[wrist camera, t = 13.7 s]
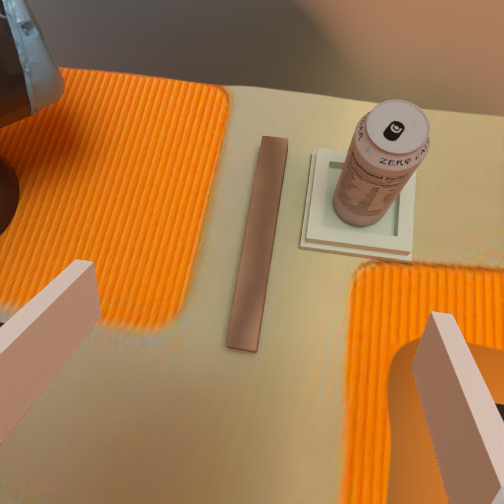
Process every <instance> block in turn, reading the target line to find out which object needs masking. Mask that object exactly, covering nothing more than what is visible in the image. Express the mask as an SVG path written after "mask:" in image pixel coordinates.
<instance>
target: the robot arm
mask: <svg viewBox="0 0 504 504" xmlns="http://www.w3.org/2000/svg"><path fill="white" fill-rule="evenodd" d="M64 88H65V85H64V80H63V77H62V74H61V72H60V70H59V67H58V65H57V63H56V60H55V58H54V56H53V54H52V51H51V49H50V47H49V45H48V43H47V41H46V38H45V36H44V35H43V32H42V30H41V28H40V26H39V24H38V22H37V19H36V17H35V15H34V13H33V11H32V9H31V7H30V5H29V3H28V1H27V0H0V128H2V127H5V126H7V125H10V124H12V123H14V122H17V121H19V120H22V119H24V118H26V117H29V116H33V115H35V114H36V112H37V111H39V110H41V109H43V108H45V107H47V106H49V105H51V104H52V103H54V102H56V101H58V100H59V99H60V98H61V97H62V95H63V93H64ZM18 195H19V187H18V180H17V177H16V174H15V172H14V170H13V168H12V166H11V165H10V164H9V162H8V161H7V160H6V159H5V158H3V157H2V156H1V155H0V234H1V233H2V232H3V231H4V230H5V228H6V227H7V225H8V224H9V222H10V220H11V219H12V217H13V214H14V212H15V209H16V206H17V202H18ZM100 318H101V311H100V304H99V296H98V289H97V281H96V274H95V266H94V262H91V261H84V260H77V259H76V260H75V261H73V262H72V263H71V264H70V265H69V266H68V267H67V268H66V269H65V270H64V271H62V272H61V273H60V274H59V275H58V276H57V277H56V278H55V279H54V280H52V281H51V282H50V283H49V284H48V285H47V286H46V287H45V288H44V289H42V290H41V291H40V292H39V293H38V294H37V295H36V296H35V297H34V298H32V299H31V300H30V301H29V302H28V303H27V304H26V305H25V306H24V307H23V308H21V309H20V310H19V311H18V312H17V313H16V314H15V315H14V316H13V317H11V318H10V319H9V320H8V321H7V322H6V323H1V322H0V445H1V443H2V442H3V441H4V439H5V438H6V437H7V436H8V434H9V433H10V432H11V431H12V429H13V428H14V427H15V426H16V424H17V423H18V422H19V420H20V419H21V418H22V417H23V415H24V414H25V413H26V412H27V410H28V409H29V408H30V407H31V405H32V404H33V403H34V401H35V400H36V399H37V398H38V396H39V395H40V394H41V393H42V391H43V390H44V389H45V387H46V386H47V385H48V384H49V382H50V381H51V380H52V379H53V377H54V376H55V375H56V374H57V372H58V371H59V370H60V368H61V367H62V366H63V365H64V363H65V362H66V361H67V360H68V358H69V357H70V356H71V355H72V353H73V352H74V351H75V349H76V348H77V347H78V346H79V344H80V343H81V342H82V341H83V339H84V338H85V337H86V336H87V334H88V333H89V332H90V330H91V329H92V328H93V327H94V325H95V324H96V323H97V322H98V320H99V319H100ZM411 367H412V371H413V374H414V378H415V382H416V385H417V389H418V393H419V396H420V400H421V403H422V407H423V411H424V414H425V418H426V422H427V425H428V429H429V433H430V436H431V440H432V444H433V447H434V451H435V455H436V458H437V462H438V466H439V469H440V473H441V476H442V480H443V484H444V488H445V491H446V495H447V498H448V502H449V504H504V405H501V404H495V403H494V401H493V399H492V397H491V395H490V392H489V390H488V388H487V386H486V384H485V382H484V380H483V378H482V375H481V373H480V371H479V369H478V367H477V365H476V363H475V361H474V359H473V357H472V355H471V352H470V350H469V348H468V346H467V344H466V342H465V340H464V337H463V335H462V333H461V331H460V329H459V327H458V325H457V323H456V321H455V318H454V316H453V314H446V313H440V312H433V311H431V313H430V316H429V318H428V321H427V324H426V327H425V330H424V332H423V335H422V338H421V341H420V344H419V346H418V349H417V352H416V355H415V358H414V360H413V364H412V366H411Z"/></svg>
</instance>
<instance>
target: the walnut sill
mask: <svg viewBox="0 0 504 504" xmlns="http://www.w3.org/2000/svg"><path fill="white" fill-rule="evenodd" d="M287 152H288V138H279V137H270V136H262V141H261V147H260V152H259V158H258V164H257V170H256V175H255V181H254V187H253V193H252V198H251V204H250V210H249V216H248V221H247V227H246V233H245V239H244V244H243V250H242V256H241V262H240V267H239V273H238V279H237V285H236V290H235V296H234V302H233V307H232V313H231V319H230V325H229V330H228V336H227V342H226V347H228V348H232V349H238V350H245V351H251V352H257V349H258V343H259V336H260V330H261V323H262V316H263V310H264V303H265V297H266V290H267V284H268V277H269V270H270V264H271V257H272V251H273V244H274V238H275V231H276V224H277V218H278V211H279V205H280V198H281V192H282V185H283V178H284V172H285V165H286V159H287Z"/></svg>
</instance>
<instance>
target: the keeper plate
mask: <svg viewBox="0 0 504 504" xmlns="http://www.w3.org/2000/svg"><path fill="white" fill-rule="evenodd" d="M347 153H348V151H340V150H331V149H322V148H318V150H317V151H313V153H312V160H311V167H310V175H309V182H308V190H307V197H306V205H305V212H304V220H303V227H302V235H301V243H300V249H306V250H313V251H321V252H328V253H335V254H343V255H350V256H357V257H365V258H372V259H380V260H387V261H394V262H402V263H410V262H411V261H412V241H413V221H414V201H415V182H416V170H415V172H414V173H413V175H412V176H411V177H410V179H409V180H408V182H407V183H406V185H405V186H404V188H403V189H402V190H401V192H400V193H399V195H398V196H397V198H396V199H395V201H394V202H393V203H392V205H391V206H390V208H389V209H388V211H387V212H386V214H385V215H384V216H383V217H382V218H381V219H380V220H379V221H378V222H376V223H374V224H371V225H367V226H358V225H354V224H351V223H349V222H347V221H345V220H344V219H343V218H341V217H340V215H339V214H338V213H337V211H336V209H335V206H334V201H333V197H334V192H335V189H336V186H337V183H338V180H339V177H340V174H341V171H342V168H343V165H344V162H345V159H346V156H347Z"/></svg>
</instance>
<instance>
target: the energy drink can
mask: <svg viewBox="0 0 504 504" xmlns="http://www.w3.org/2000/svg"><path fill="white" fill-rule="evenodd" d="M429 131H430V126H429V121H428V119H427V116H426V115H425V113H424V112H423V111H422V110H421V109H420V108H419V107H417V106H416V105H414V104H412V103H410V102H407V101H404V100H389V101H385V102H382V103H380V104H378V105H377V106H375V107H374V108H373V109H372V110H371V111H370V112H369V113H367V114H366V115H365V116H364V117H362V118H361V120H360V121H359V123H358V124H357V126H356V129H355V132H354V135H353V138H352V141H351V144H350V147H349V150H348V153H347V156H346V159H345V162H344V165H343V168H342V171H341V174H340V177H339V180H338V183H337V186H336V189H335V192H334V197H333V201H334V206H335V209H336V211H337V213H338V214H339V215H340V217H341V218H343V219H344V220H345V221H347V222H349V223H351V224H354V225H358V226H367V225H371V224H374V223H376V222H378V221H379V220H380V219H381V218H382V217H383V216H384V215H385V214H386V212H387V211H388V209H389V208H390V206H391V205H392V203H393V202H394V201H395V199H396V198H397V196H398V195H399V193H400V192H401V190H402V189H403V188H404V186H405V185H406V183H407V182H408V180H409V179H410V177H411V176H412V175H413V173H414V172H415V170H416V169H417V167H418V166H419V165H420V163H421V162H422V160H423V159H424V157H425V156H426V154H427V152H428V149H429V143H430V138H429Z"/></svg>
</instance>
